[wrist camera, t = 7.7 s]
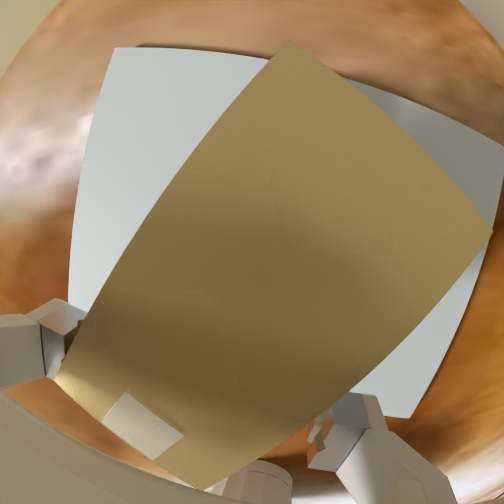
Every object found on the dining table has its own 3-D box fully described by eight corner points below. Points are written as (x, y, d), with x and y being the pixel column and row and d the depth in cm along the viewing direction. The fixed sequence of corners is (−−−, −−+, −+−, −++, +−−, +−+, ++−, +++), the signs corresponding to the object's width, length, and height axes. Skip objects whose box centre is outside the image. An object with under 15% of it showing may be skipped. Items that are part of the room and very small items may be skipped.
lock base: (497, 150, 14) (574, 141, 7) (404, 408, 18) (433, 482, 11) (124, 53, 16) (55, 10, 9) (77, 313, 20) (10, 356, 13)
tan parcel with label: (292, 107, 9) (288, 37, 4) (411, 210, 9) (496, 232, 4) (130, 316, 11) (51, 382, 6) (232, 397, 11) (200, 494, 6)
